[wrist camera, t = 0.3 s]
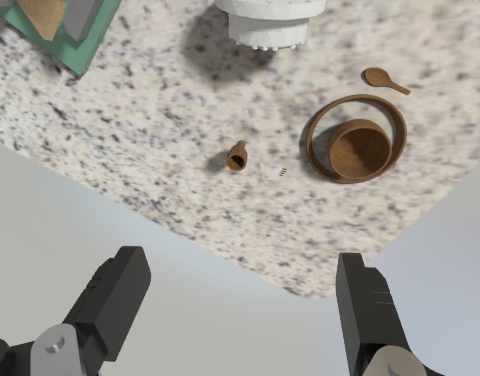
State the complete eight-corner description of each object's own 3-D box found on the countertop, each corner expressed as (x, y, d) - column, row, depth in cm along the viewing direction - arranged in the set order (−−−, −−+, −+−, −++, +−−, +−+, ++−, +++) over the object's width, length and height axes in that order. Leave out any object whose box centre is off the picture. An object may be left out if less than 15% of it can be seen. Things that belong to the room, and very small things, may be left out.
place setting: (351, 205, 46) (359, 231, 41) (227, 149, 43) (219, 170, 38) (439, 98, 36) (463, 115, 31) (287, 19, 34) (287, 24, 29)
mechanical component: (323, -21, 31) (333, 3, 24) (315, 27, 34) (321, 62, 27) (224, -27, 32) (204, -5, 24) (225, 21, 35) (206, 53, 27)
